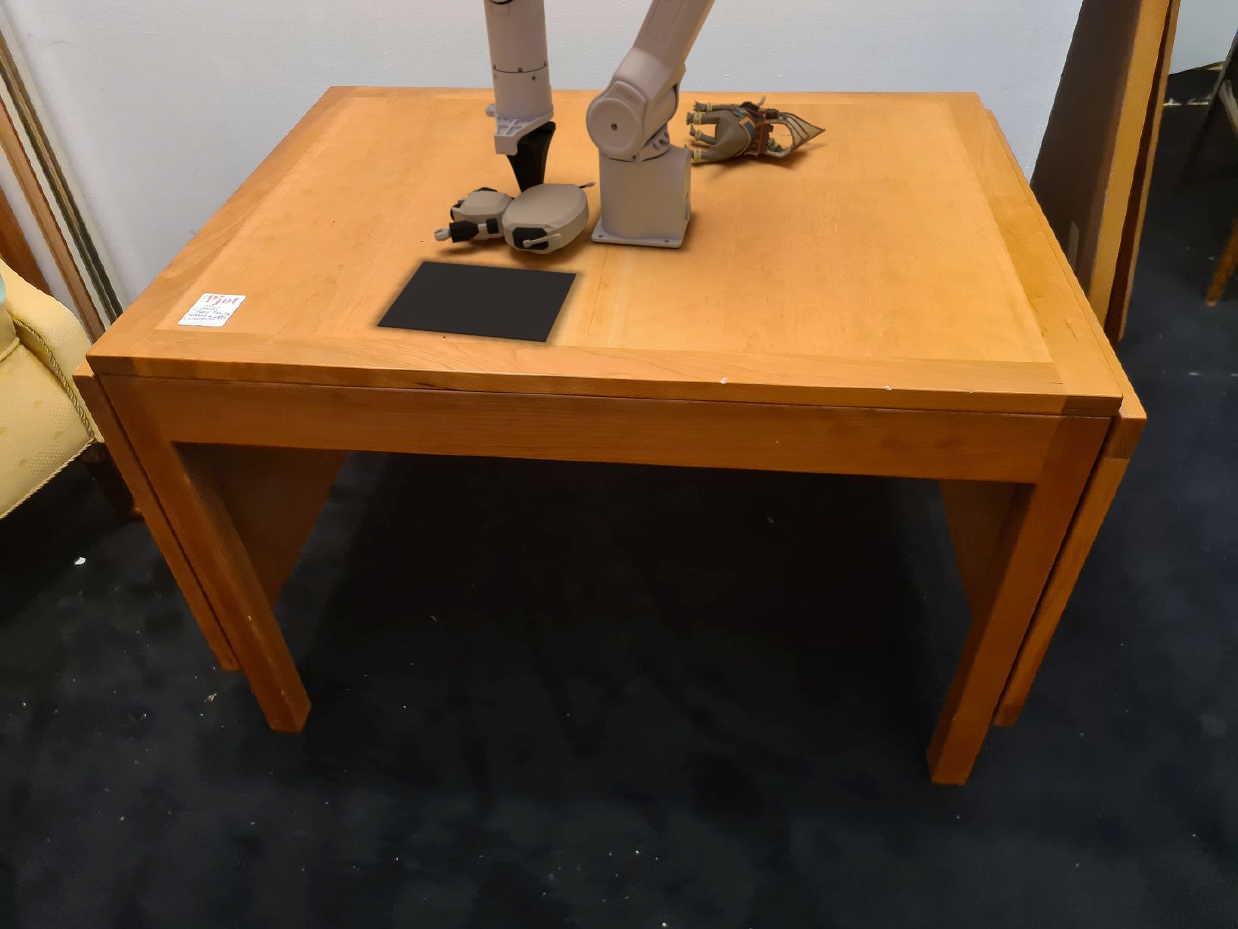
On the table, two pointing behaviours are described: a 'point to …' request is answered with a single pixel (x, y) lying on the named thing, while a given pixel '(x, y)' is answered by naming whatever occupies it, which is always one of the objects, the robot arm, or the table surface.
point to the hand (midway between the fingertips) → (531, 193)
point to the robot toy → (521, 217)
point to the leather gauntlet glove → (745, 130)
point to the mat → (480, 301)
